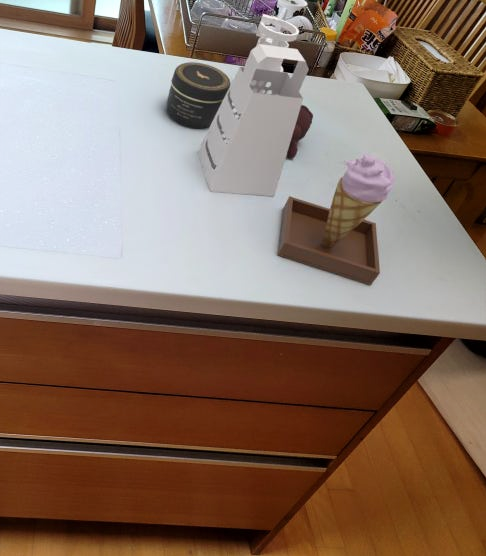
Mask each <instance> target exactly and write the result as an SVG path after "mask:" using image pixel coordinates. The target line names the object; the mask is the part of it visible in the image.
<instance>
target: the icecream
mask: <svg viewBox="0 0 486 556" xmlns="http://www.w3.org/2000/svg"><path fill="white" fill-rule="evenodd" d="M313 119H314V114H313V113H312V112H311V110H310V109H309V108H308V107H307V106H306V105H304V104H301V108H300V111H299V114H298V118H297V121H296V124H295V128H294V131H293V135H292V138H291V141H290V145H289V148H288V152H287V155H286V156H287V157H288V158H289V159H293V158H295V157H296V156H297V152H298V146H297V142H298V141H300V140H302V139H304V137H306V135H307V134H308V132H309V130H310V128H311V125H312V124H313Z"/></svg>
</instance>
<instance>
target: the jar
mask: <svg viewBox="0 0 486 556" xmlns="http://www.w3.org/2000/svg"><path fill="white" fill-rule="evenodd" d="M170 83H171V84H170V87H169V91H168V96H167V101H166V106H167V107H166V108H167V112H168V114H169V116H170V117H171V119H172V120H174V121H175V122H177V123H178V124H180V125H183V126H185V127H187V128H193V129H206V128H209V127H210V125H211V123H212V121H213V119H214V117H215V115H216V113H217V111H218V109H219V107H220V105H221V103H222V101H223V99H224V97H225V95H226V93H227V91H228V89H229V87H230V85H231V80H230V78H229V76H228V75H227V74H226V73H224V71H222V70H221V69H219V68H217V67H215V66H213V65H210V64H206V63H201V62H195V61H194V62H184V63H181V64H179V65H177V66H176V68H175V69H174V72H173V75H172V77H171V81H170Z"/></svg>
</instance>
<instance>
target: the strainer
mask: <svg viewBox="0 0 486 556" xmlns="http://www.w3.org/2000/svg"><path fill="white" fill-rule="evenodd" d="M270 25H272V26H274V28H273V29H271V28H269V27H268V26H270ZM282 29H284V30H287V31H288V32H290V33H284V32H281V30H282ZM299 33H300V30H299V28H298V27H297V26H295V24H293V23H291V22H289V21H287V20H283V19H280V18H278V17H277V16H274V15H273V16H272V15H268V14H265V13H262V16H261V19H260V21H259V25H258V27H257V30H256V33H255V36H256V37H259V38H258V40H257V43H256V46H258V45H259V44H263V45H270V46H278V47H285V48H290V47H289V46H290V44H289V42H295V41H296V40H297V37H298V35H299ZM256 46H255V47H256ZM247 60H248V58H247V59H246V62H245V64H244V67H245V66H246V63H247ZM283 61H284V59H282V58H274V57H266V58H264V59H263V60H262V61H260V62H259V63H258V64H257V67H256V69H262V70H270V71H278V72H284V68H283V66H282V64H283ZM256 83H257V82H256V81H255V80H253V81H252V82H251V85H252V86H253V85H256ZM267 84H268V82H267V83H266V85H265V86H266V87H267ZM258 85H259V86H263V85H264V82H263V81H260V82H259V83H258ZM257 91H258V90H257V89H256V88H255V89H253V90H252V92H253V93H257ZM259 93H260V94H264V93H265V90H264V89H262V90H260V91H259Z"/></svg>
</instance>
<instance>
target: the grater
mask: <svg viewBox="0 0 486 556" xmlns="http://www.w3.org/2000/svg"><path fill="white" fill-rule="evenodd" d="M266 57H274V58H282V59H283V60H290V61H297V63H296V66H295V68H294V70H293V73H292V75H291V77H290V75H289V73H288V72H287V71H286V72H285V71H283V72H278V71H270V70H262V69H256V67H257V64H258V63H259V62H260V61H262V60H263V59H264V58H266ZM247 59H248V60H247ZM247 59H246V61H247V63H246V62H245V64H246V66H245V65H244V66H239V68H238V70H237V71H236V73H235V76H234V77H233V79H232V81H231V82H230V87H229V89H228V91H227V93H226V95H225V97H224V99H223V101H222V103H221V105H220V107H219V109H218V111H217V113H216V115H215V117H214V119H213V121H212V123H211V125H210V126H209V127H208V129H207V131H206V133H205V136H204V137H203V139H202V141H201V143H200V146H199V148H198V150H197V155H198V158H199V161H200V164H201V168H202V170H203V173H204V176H205V180H206V183H207V185H208V188H209V192H213V193H225V194H237V195H251V196H263V197H275V196H276V192H277V189H278V186H279V183H280V179H281V175H282V171H283V168H284V165H285V161H286V158H287V156H288V155H287V152H288V148H289V145H290V141H291V138H292V135H293V131H294V128H295V124H296V121H297V118H298V114H299V111H300V108H301V105H303V101H304V97H303V96H302V94H301V93H300V90H301V88H302V87H303V84H304V81H305V80H306V77H307V74H308V73H309V70H310V69H309V66H308V63H307V61H306V60H305V58H304V57H303V55H302V54H301V53H300V51H299V49H297V48H293V47H288V48H285V47H278V46H270V45H263V44H259V45H258V46H255V47H253V48H251V50H250V52H249V55H248V57H247ZM253 80H255V81H256V82H257V83H256V85H253V86H252V85H251V82H252V81H253ZM260 81H263V82H264V85H263V86H259V85H258V83H259V82H260ZM266 83H267V84H268V83H270V86H267V84H266ZM265 85H266V86H265ZM255 88H256V89H257V90H258V91H257V93H253V92H252V90H253V89H255ZM262 89H264V92H263V94H260V93H259V91H260V90H262ZM269 91H271V93H270V94H267V92H269ZM234 109H235V110H236V112H234V111H233V110H234ZM236 116H238V117H237V118H236ZM223 135H224V137H223ZM225 140H228V141H227V142H225ZM209 154H210V157H211V159H212V162H213V164H214V165H216V166H215V168H213V166H212V163H211V160H210V158H209Z"/></svg>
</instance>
